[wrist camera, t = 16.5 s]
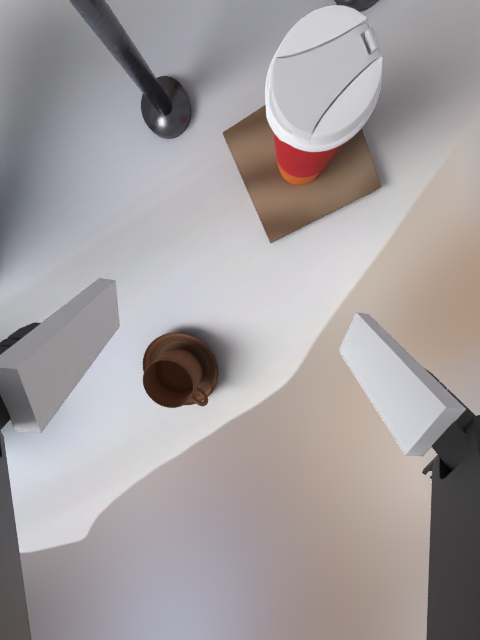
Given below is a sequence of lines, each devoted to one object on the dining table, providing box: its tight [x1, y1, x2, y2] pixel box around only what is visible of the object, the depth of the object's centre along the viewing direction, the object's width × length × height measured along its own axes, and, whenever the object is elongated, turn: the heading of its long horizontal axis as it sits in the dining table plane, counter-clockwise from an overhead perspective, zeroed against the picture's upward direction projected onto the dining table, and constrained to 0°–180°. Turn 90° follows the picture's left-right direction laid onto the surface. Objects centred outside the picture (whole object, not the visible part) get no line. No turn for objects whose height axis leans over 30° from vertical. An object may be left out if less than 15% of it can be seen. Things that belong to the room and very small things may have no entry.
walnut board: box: [223, 105, 381, 243], centre depth 29 cm, size 14×14×1 cm
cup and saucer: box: [143, 333, 218, 408], centre depth 36 cm, size 12×12×6 cm
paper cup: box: [265, 5, 383, 185], centre depth 22 cm, size 8×8×14 cm
